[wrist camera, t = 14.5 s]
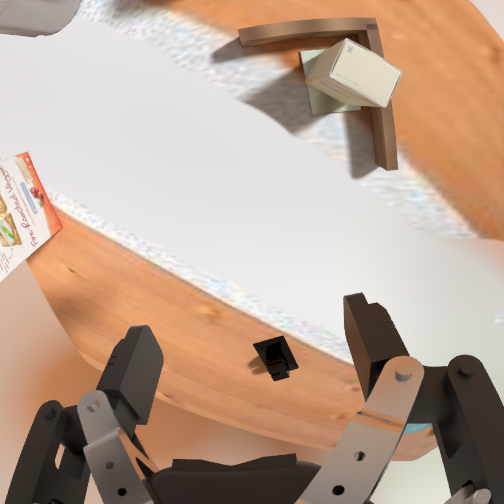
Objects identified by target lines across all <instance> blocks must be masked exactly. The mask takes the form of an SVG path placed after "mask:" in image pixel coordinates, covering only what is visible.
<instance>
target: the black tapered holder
mask: <svg viewBox="0 0 504 504" xmlns="http://www.w3.org/2000/svg"><path fill="white" fill-rule="evenodd" d="M253 346H254V348H255V349H256V351H257V352H258V354H259V356H260V357H261V359H262V361H263V362H264V364H265V366H266V367H267V370H268V372H269V374H270V375H271V377H272V379H273V380H274V381H278V380H281V379H285V378H289V377H290V375H289V374H290V372H289V371H291V370H294V369H297V368H299V367H298V365H297V363H296V361H295V359H294V357H293V354H292V352H291V350H290V348H289V346H288V344H287V342H286V340H285V338H284V336H279V337H276V338H272V339H269V340H265V341H262V342H258V343H255V344H253Z"/></svg>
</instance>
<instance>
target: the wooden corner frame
mask: <svg viewBox="0 0 504 504" xmlns="http://www.w3.org/2000/svg"><path fill="white" fill-rule="evenodd" d="M238 32H239V36H240V41H241V45H242V48H244V47H249V46H255V45H261V44H267V43H273V42H281V41H288V40H297V39H307V38H318V37H333V36H356V37H357V41H358V44H359V45H361V46H363V47H365V48H367V49H368V50H370V51H372V52H373V53H375V54H377V55H379V56H380V57H382V58H383V59H384V54H383V49H382V44H381V40H380V35H379V31H378V27H377V22H376V18H329V19H313V20H301V21H291V22H282V23H275V24H267V25H261V26H255V27H249V28H243V29H238ZM325 50H327V49H319V50H309V51H300V54H301V58H302V63H303V68H304V73H305V78H306V77H307V75H308V73H309V70H310V68H311V66H312V64H313V62H314V60H315V58H316V57H317V55H319V54H320V53H322V52H324V51H325ZM307 88H308V93H309V99H310V104H311V110H312V115H317V114H325V113H334V112H343V111H353V110H361V106H359V105H346V104H344V103H342V102H340V101H338V100H336V99H334V98H332V97H330V96H328V95H326V94H325V93H323V92H321V91H319V90H317V89H315V88H313V87H311V86H309V85H307ZM369 107H370V115H371V122H372V130H373V139H374V148H375V159H376V164H377V165H379V166H380V167H382V168H384V169H385V170H387V171H390V170H398V162H397V148H396V137H395V127H394V118H393V110H392V102H391V99H390V100H389V102H388V105H387V106H386V108H384V107H372V106H369Z"/></svg>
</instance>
